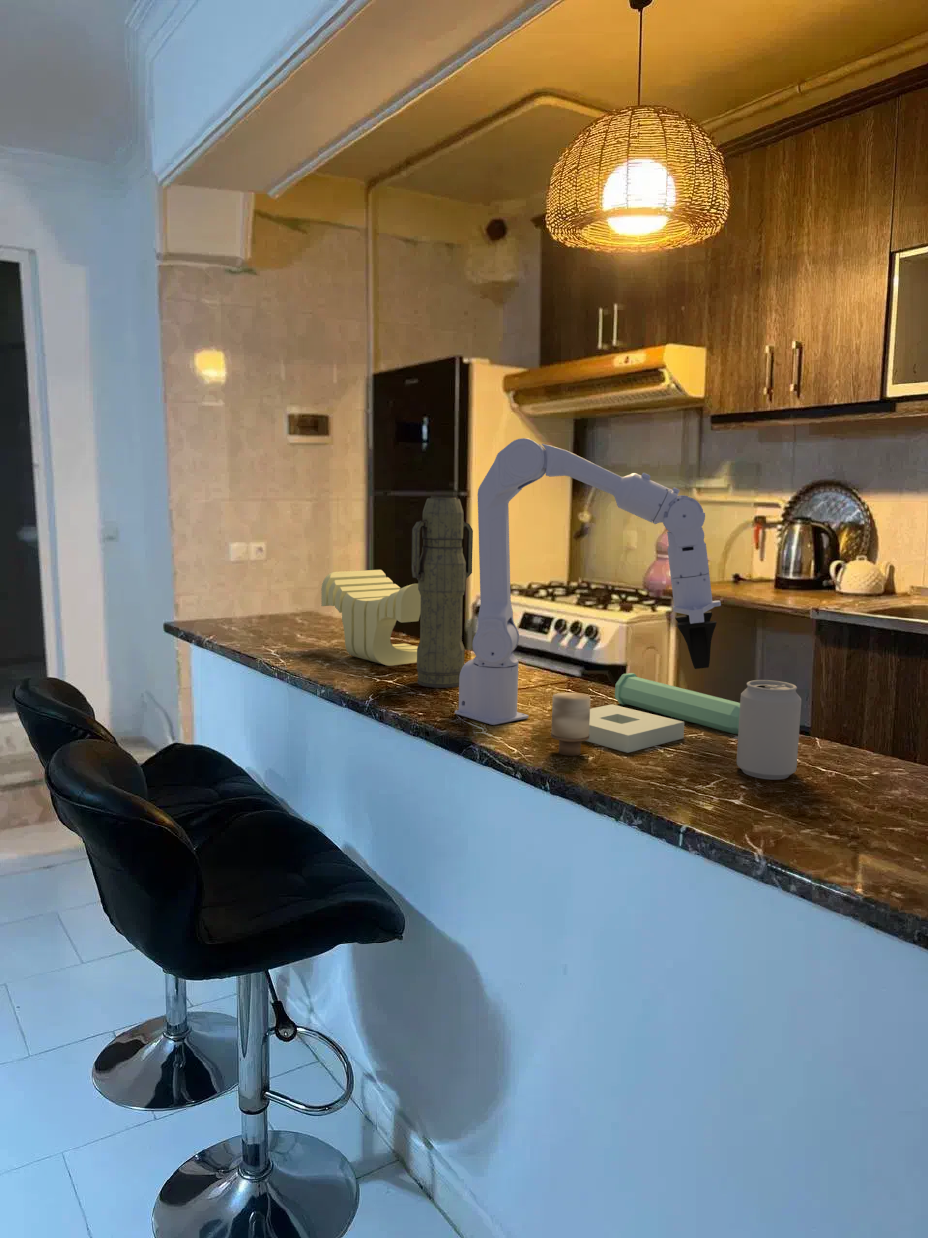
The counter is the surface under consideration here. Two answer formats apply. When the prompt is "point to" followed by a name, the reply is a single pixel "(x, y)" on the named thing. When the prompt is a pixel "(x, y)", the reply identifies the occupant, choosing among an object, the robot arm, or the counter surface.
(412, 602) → the slatted curved stool
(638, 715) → the board
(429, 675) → the thermos
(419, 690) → the counter surface
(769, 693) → the can
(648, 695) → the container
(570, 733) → the peg
